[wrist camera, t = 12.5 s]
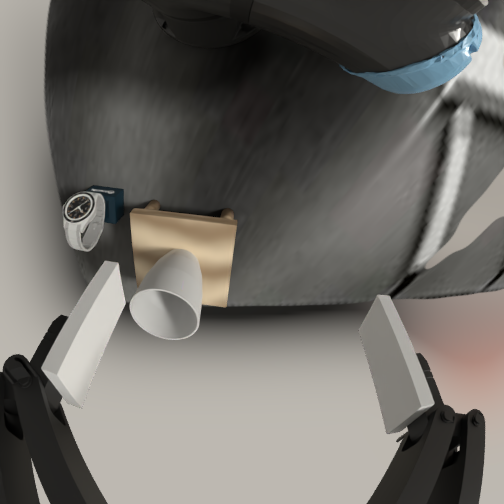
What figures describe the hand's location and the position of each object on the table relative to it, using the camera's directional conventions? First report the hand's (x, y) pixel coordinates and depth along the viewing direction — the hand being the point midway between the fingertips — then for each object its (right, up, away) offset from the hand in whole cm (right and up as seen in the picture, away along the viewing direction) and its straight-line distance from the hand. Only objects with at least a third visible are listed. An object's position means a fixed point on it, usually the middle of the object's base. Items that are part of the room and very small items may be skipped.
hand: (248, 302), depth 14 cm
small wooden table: (-10, +4, +29) cm, 31 cm away
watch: (-22, +11, +26) cm, 35 cm away
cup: (-9, +1, +25) cm, 26 cm away
